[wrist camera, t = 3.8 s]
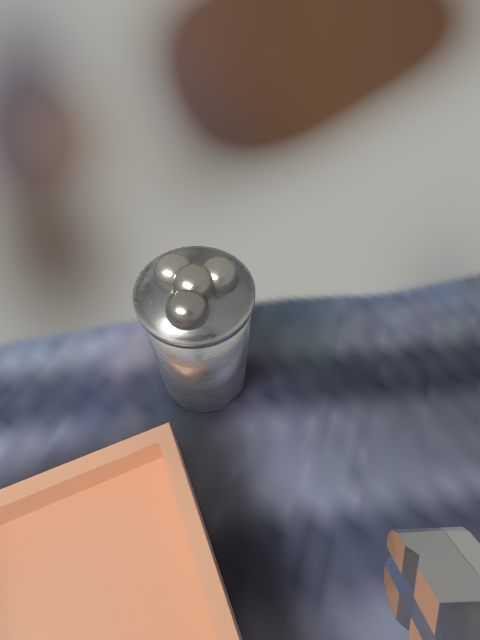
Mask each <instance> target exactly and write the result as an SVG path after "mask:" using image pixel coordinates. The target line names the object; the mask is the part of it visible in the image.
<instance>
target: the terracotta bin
mask: <svg viewBox="0 0 480 640" xmlns="http://www.w3.org/2000/svg"><path fill="white" fill-rule="evenodd" d="M0 640H243V639H242V636H241V633H240V630H239V627H238V624H237V621H236V618H235V615H234V612H233V609H232V606H231V603H230V600H229V597H228V594H227V591H226V588H225V585H224V581H223V578H222V575H221V572H220V569H219V566H218V563H217V560H216V557H215V554H214V551H213V548H212V545H211V542H210V539H209V536H208V533H207V530H206V527H205V524H204V521H203V517H202V514H201V511H200V508H199V505H198V502H197V499H196V496H195V493H194V490H193V487H192V484H191V481H190V478H189V475H188V472H187V469H186V466H185V463H184V460H183V457H182V454H181V450H180V447H179V444H178V441H177V439H176V437H175V435H174V433H173V430H172V428H171V426H170V424H169V422H168V423H166V424H163V425H161V426H158V427H156V428H153V429H151V430H148V431H145V432H143V433H140V434H138V435H135V436H133V437H130V438H128V439H125V440H123V441H120V442H118V443H115V444H113V445H110V446H108V447H105V448H103V449H100V450H98V451H95V452H93V453H90V454H88V455H85V456H83V457H80V458H78V459H75V460H73V461H70V462H68V463H65V464H63V465H60V466H58V467H55V468H53V469H50V470H48V471H45V472H43V473H40V474H38V475H35V476H33V477H30V478H28V479H25V480H23V481H20V482H18V483H15V484H13V485H10V486H8V487H5V488H3V489H0Z"/></svg>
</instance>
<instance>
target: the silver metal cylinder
mask: <svg viewBox="0 0 480 640" xmlns="http://www.w3.org/2000/svg"><path fill="white" fill-rule="evenodd" d="M254 303H255V284H254V281H253V278H252V276H251V274H250V272H249V271H248V269H247V268H246V267H245V265H244V264H243V263H242V262H241V261H239V260H238V259H237V258H235V257H234V256H232V255H231V254H229V253H227V252H225V251H222V250H219V249H215V248H211V247H205V246H190V247H182V248H178V249H174V250H171V251H169V252H166V253H164V254H162V255H161V256H159V257H157V258H156V259H154V260H153V261H151V262H150V263H149V264H148V265H147V266H146V267H145V268H144V269H143V270H142V272H141V273H140V275H139V276H138V278H137V280H136V283H135V286H134V289H133V305H134V309H135V312H136V314H137V317H138V319H139V321H140V323H141V325H142V326H143V328H144V329H145V332H146V335H147V337H148V340H149V343H150V345H151V348H152V351H153V353H154V356H155V359H156V362H157V364H158V367H159V370H160V372H161V375H162V378H163V380H164V383H165V386H166V388H167V391H168V393H169V395H170V396H171V398H172V399H173V400H174V401H175V402H176V403H177V404H178V405H180V406H181V407H183V408H185V409H187V410H190V411H193V412H199V413H208V412H214V411H217V410H220V409H222V408H224V407H226V406H227V405H229V404H230V403H231V402H233V401H234V400H235V399H236V397H237V396H238V395H239V393H240V392H241V390H242V387H243V385H244V380H245V372H246V362H247V352H248V342H249V332H250V322H251V314H252V311H253V308H254Z"/></svg>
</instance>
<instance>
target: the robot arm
mask: <svg viewBox="0 0 480 640" xmlns="http://www.w3.org/2000/svg"><path fill="white" fill-rule="evenodd" d="M387 548H388V550H389V551H390V553H391V555H392V556H391V557H390V559H389V560H388V561H387V562H386V563H385V568H384V582H385V589H386V595H387V598H388V601H389V604H390V607H391V609H392V611H393V614H394V616H395V618H396V620H397V621H398V622H399V623H400V624H401V625H403V626H404V627H405V628H406V629H407V630H408V631H409V638H408V640H480V543H479V542H478V541H477V540H476V539H475V538H474V536H473V535H472V534H471V533H470V532H469V531H468V530H466V529H465V528H463V527H445V528H437V529H436V528H429V529H405V530H391V531H390V533H389V535H388V539H387Z"/></svg>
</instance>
